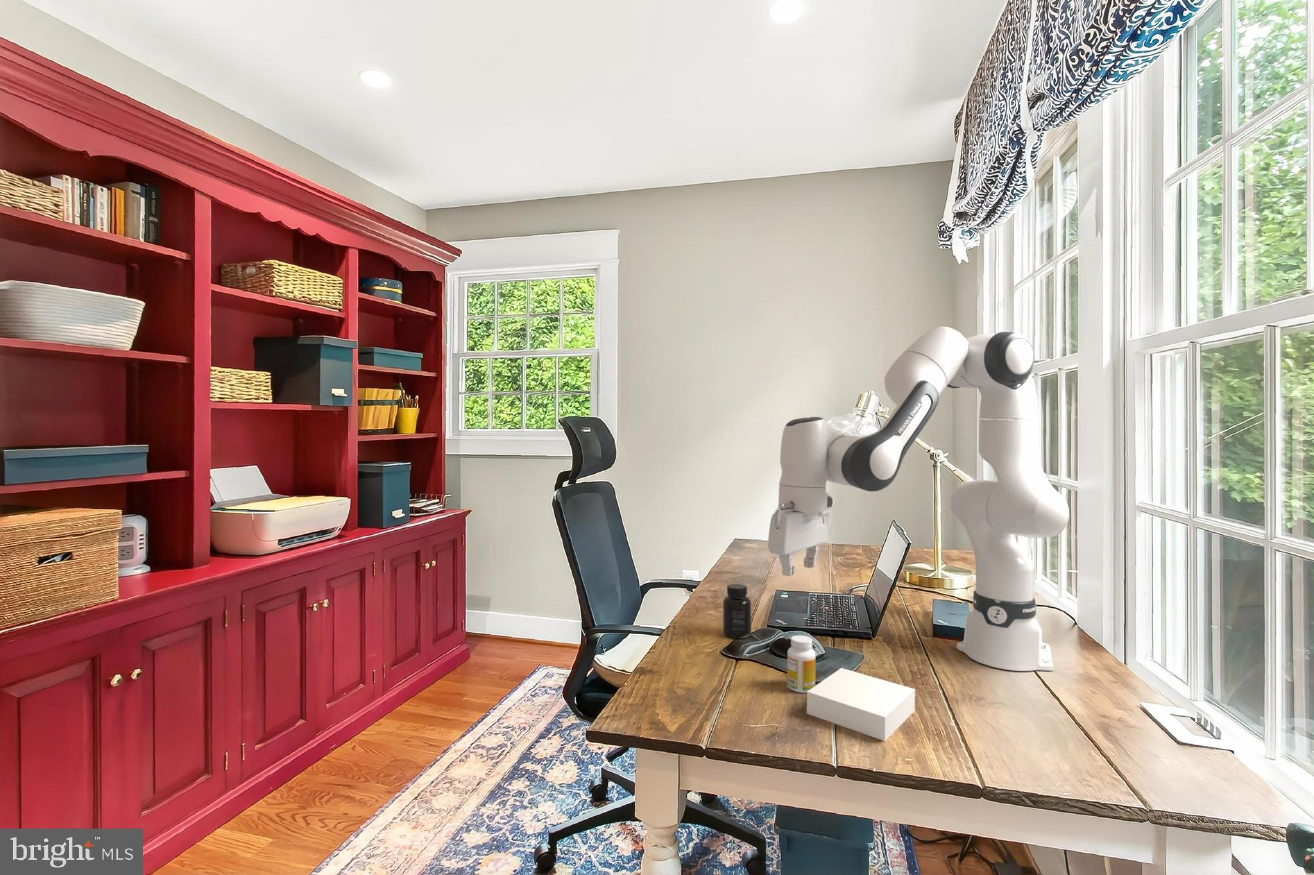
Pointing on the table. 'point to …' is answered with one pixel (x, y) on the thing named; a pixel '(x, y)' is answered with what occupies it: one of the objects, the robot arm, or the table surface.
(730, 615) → the supplement bottle
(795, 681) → the supplement bottle
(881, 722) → the plinth
